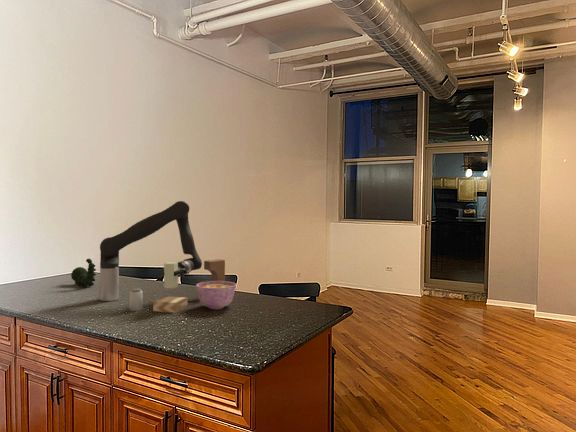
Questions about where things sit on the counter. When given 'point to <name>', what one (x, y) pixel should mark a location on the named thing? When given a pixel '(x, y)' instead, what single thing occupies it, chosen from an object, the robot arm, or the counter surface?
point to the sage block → (170, 275)
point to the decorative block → (216, 269)
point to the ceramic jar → (136, 299)
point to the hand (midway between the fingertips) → (169, 273)
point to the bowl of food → (216, 293)
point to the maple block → (170, 304)
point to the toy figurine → (84, 275)
